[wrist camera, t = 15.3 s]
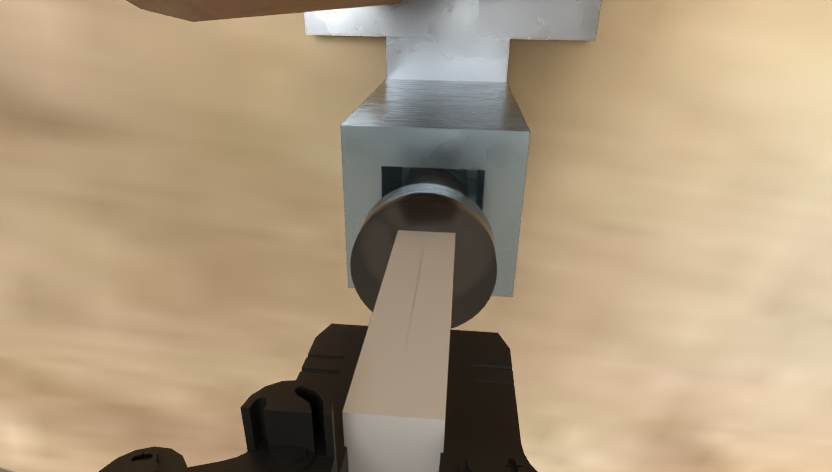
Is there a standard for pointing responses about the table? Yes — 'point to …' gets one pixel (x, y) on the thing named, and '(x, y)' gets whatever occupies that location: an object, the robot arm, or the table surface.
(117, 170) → the table surface
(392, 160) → the press
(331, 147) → the table surface
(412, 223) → the plunger
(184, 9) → the wooden block
